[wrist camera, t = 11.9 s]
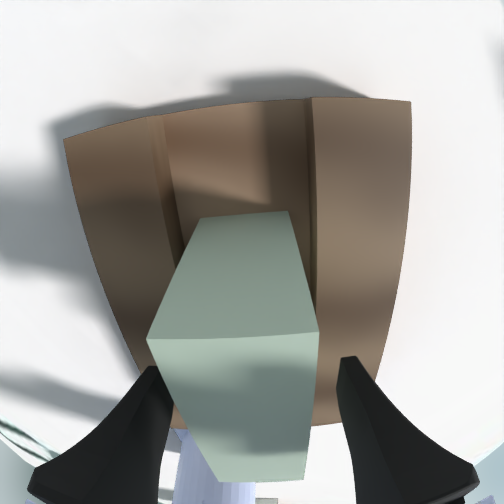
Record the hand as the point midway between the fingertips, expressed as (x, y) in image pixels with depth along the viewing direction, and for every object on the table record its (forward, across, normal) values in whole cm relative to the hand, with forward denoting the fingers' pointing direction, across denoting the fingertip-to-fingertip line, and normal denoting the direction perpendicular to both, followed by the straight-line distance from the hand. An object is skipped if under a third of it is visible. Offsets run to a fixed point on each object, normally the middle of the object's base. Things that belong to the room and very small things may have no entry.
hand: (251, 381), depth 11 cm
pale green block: (+5, 0, 0) cm, 5 cm away
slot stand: (+7, 0, 0) cm, 7 cm away
